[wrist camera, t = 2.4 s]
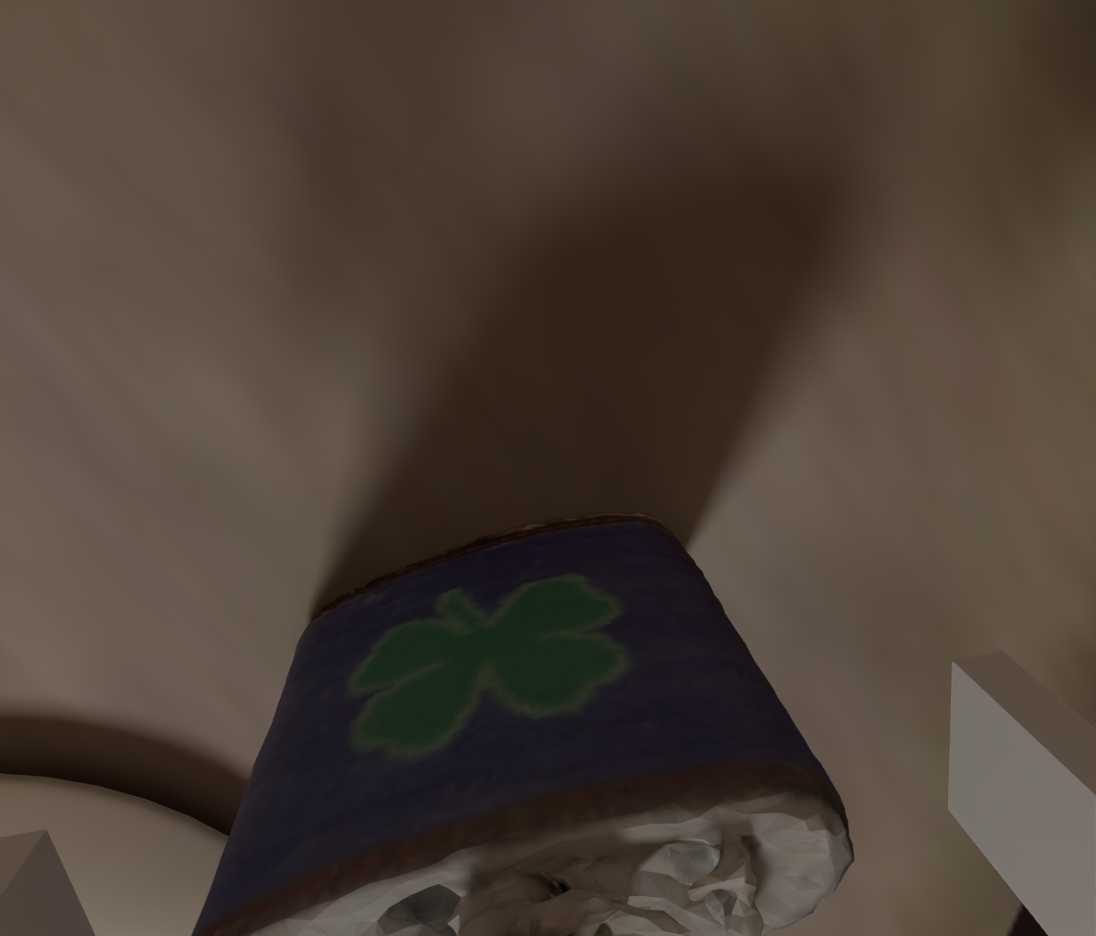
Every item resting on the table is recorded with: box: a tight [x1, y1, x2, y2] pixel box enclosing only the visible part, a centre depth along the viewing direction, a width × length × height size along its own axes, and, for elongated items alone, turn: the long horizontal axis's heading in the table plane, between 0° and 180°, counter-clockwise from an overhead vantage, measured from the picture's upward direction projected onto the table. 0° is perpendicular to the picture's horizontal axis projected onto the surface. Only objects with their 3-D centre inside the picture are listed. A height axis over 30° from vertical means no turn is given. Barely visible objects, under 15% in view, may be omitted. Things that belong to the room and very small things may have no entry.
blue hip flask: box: [191, 512, 854, 936], centre depth 13 cm, size 9×3×11 cm, turn 104°
